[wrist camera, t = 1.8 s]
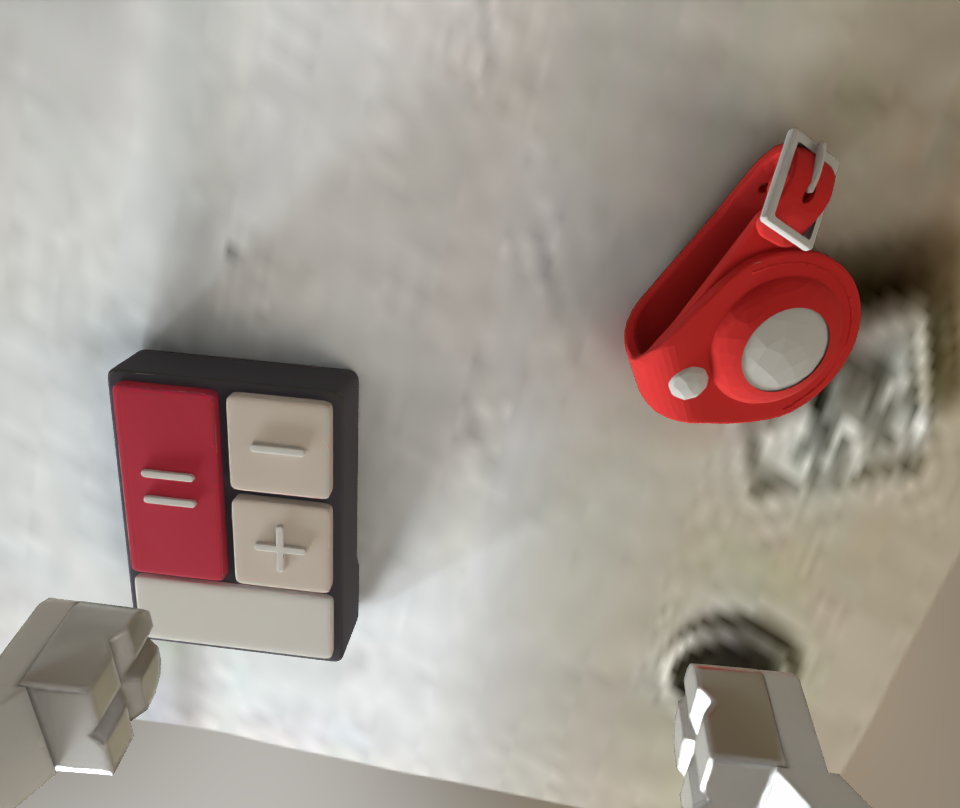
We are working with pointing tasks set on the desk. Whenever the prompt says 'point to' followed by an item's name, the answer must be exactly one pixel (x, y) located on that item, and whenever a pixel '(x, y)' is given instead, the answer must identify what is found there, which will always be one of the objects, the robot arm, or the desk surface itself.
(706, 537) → the desk surface
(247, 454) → the calculator
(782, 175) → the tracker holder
